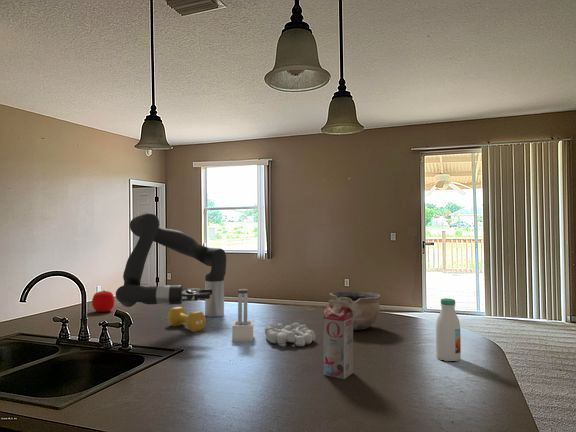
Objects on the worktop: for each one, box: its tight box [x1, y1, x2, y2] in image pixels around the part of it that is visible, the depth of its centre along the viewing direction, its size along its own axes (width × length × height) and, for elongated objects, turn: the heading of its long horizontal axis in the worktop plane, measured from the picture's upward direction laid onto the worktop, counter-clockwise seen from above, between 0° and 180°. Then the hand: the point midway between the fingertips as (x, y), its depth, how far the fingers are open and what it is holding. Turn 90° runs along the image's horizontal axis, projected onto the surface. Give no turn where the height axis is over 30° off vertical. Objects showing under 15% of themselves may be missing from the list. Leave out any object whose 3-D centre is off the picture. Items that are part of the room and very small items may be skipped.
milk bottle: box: [435, 297, 462, 362], centre depth 145 cm, size 8×8×20 cm
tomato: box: [91, 290, 115, 313], centre depth 222 cm, size 10×11×11 cm
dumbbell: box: [166, 306, 207, 333], centre depth 187 cm, size 19×9×8 cm, turn 47°
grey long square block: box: [237, 288, 249, 325], centre depth 170 cm, size 4×4×18 cm
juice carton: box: [323, 299, 354, 380], centre depth 130 cm, size 7×7×22 cm
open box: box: [231, 320, 254, 342], centre depth 170 cm, size 8×8×6 cm
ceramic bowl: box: [329, 290, 381, 331], centre depth 187 cm, size 22×22×15 cm
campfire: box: [264, 322, 317, 347], centre depth 168 cm, size 22×21×6 cm
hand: (211, 293), depth 171 cm, fingers open, 8 cm apart
